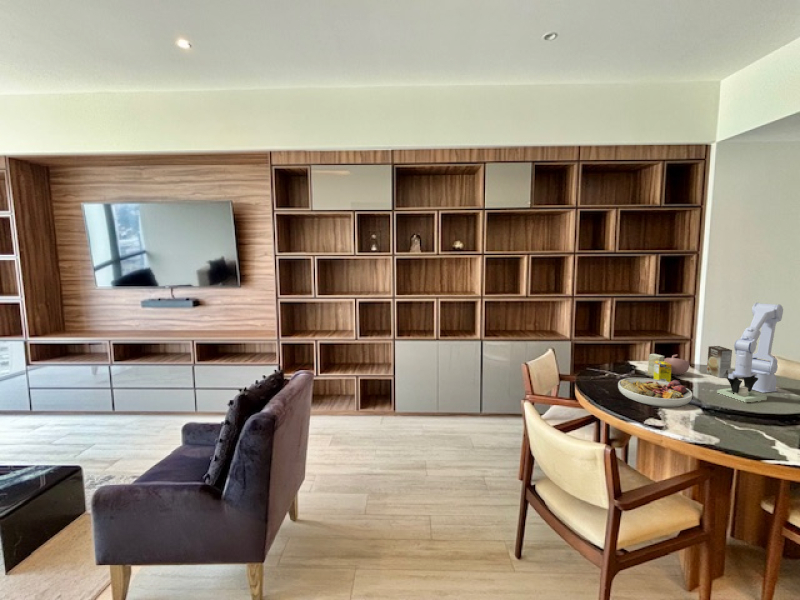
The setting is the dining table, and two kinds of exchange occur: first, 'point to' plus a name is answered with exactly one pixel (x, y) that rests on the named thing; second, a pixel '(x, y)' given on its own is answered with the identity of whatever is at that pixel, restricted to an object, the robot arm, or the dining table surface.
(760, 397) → the holder
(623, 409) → the dining table surface
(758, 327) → the robot arm
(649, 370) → the skincare box
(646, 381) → the bowl
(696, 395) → the dining table surface
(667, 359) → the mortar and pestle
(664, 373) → the supplement box
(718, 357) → the coffee box
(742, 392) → the white egg shape
